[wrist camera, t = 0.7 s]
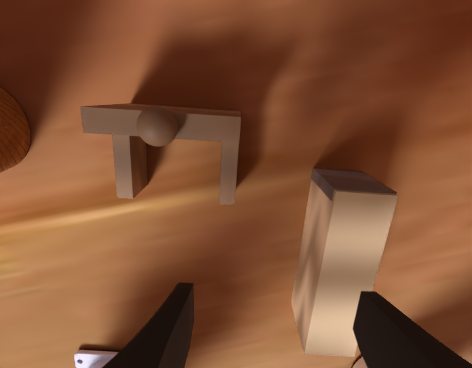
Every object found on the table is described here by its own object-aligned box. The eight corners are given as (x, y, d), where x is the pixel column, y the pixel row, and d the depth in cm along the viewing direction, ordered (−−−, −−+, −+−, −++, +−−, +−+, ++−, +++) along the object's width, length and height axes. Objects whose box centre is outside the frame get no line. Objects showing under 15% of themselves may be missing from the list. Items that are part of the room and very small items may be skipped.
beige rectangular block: (331, 304, 24) (354, 356, 19) (290, 301, 23) (303, 353, 19) (360, 170, 20) (399, 194, 15) (312, 167, 20) (335, 189, 15)
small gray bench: (235, 189, 20) (233, 241, 13) (134, 183, 20) (76, 231, 13) (240, 106, 18) (241, 112, 11) (129, 98, 18) (58, 100, 11)
